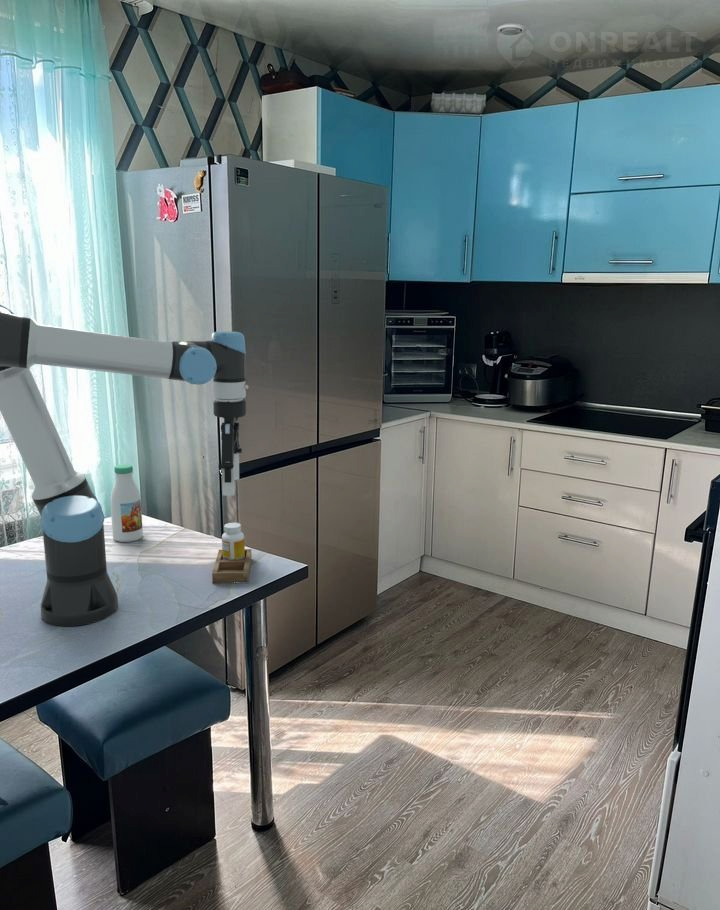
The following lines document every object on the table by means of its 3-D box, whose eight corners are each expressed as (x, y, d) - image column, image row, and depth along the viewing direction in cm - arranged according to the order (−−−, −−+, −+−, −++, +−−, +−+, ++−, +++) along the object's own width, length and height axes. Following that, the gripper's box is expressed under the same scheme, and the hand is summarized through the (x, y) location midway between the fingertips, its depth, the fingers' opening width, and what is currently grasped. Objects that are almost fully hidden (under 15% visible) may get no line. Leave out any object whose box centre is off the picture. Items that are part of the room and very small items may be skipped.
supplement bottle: (246, 558, 180) (245, 521, 177) (243, 566, 175) (242, 528, 172) (224, 558, 180) (223, 521, 177) (221, 567, 174) (219, 528, 172)
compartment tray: (247, 582, 167) (247, 572, 166) (212, 583, 166) (212, 573, 165) (251, 558, 181) (251, 549, 181) (219, 559, 181) (218, 549, 180)
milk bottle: (111, 543, 190) (106, 470, 185) (114, 533, 197) (109, 462, 193) (141, 541, 191) (137, 469, 187) (144, 532, 199) (139, 461, 194)
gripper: (241, 408, 156) (243, 502, 161) (249, 391, 180) (250, 473, 185) (206, 408, 155) (209, 502, 160) (218, 390, 179) (220, 473, 184)
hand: (231, 487), depth 173 cm, fingers open, 13 cm apart
